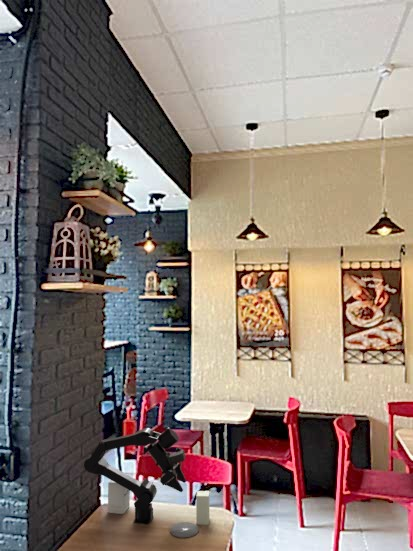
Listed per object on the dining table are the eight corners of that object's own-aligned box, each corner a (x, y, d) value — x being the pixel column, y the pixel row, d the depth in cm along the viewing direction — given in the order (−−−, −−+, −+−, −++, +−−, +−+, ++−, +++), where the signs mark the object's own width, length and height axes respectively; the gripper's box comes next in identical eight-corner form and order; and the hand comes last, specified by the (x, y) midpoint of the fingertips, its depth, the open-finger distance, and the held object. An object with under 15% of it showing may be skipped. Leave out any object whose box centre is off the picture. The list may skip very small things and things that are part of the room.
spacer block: (196, 524, 180) (196, 496, 180) (197, 518, 185) (197, 490, 185) (208, 524, 179) (208, 496, 180) (209, 518, 184) (209, 491, 185)
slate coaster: (166, 535, 171) (166, 533, 171) (175, 522, 181) (175, 520, 181) (193, 539, 168) (193, 537, 168) (201, 525, 179) (201, 524, 179)
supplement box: (123, 514, 189) (123, 483, 190) (107, 512, 190) (107, 482, 191) (130, 506, 196) (130, 477, 197) (114, 505, 197) (114, 475, 198)
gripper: (171, 450, 175) (196, 483, 174) (178, 436, 194) (201, 466, 192) (149, 468, 175) (174, 501, 174) (158, 452, 194) (181, 482, 192)
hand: (183, 486), depth 183 cm, fingers open, 9 cm apart
